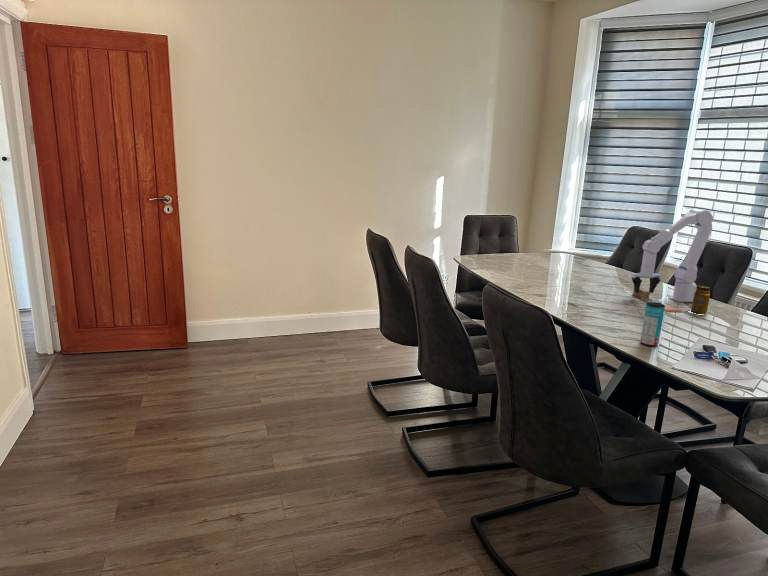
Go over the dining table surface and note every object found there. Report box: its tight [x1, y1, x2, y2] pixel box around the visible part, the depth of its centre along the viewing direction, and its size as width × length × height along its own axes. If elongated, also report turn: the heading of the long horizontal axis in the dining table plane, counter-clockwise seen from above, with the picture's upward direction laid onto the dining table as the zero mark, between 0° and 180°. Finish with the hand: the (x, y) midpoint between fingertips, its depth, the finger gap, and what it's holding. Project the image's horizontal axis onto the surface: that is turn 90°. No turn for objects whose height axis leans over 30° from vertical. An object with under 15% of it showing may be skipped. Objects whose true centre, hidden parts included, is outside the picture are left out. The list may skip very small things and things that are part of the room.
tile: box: [664, 304, 683, 313], centre depth 239 cm, size 7×1×8 cm
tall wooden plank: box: [632, 287, 663, 304], centre depth 256 cm, size 17×6×4 cm, turn 7°
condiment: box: [684, 285, 711, 316], centre depth 234 cm, size 7×8×12 cm
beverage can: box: [639, 302, 665, 348], centre depth 188 cm, size 6×6×15 cm
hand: (643, 292), depth 257 cm, fingers open, 7 cm apart
